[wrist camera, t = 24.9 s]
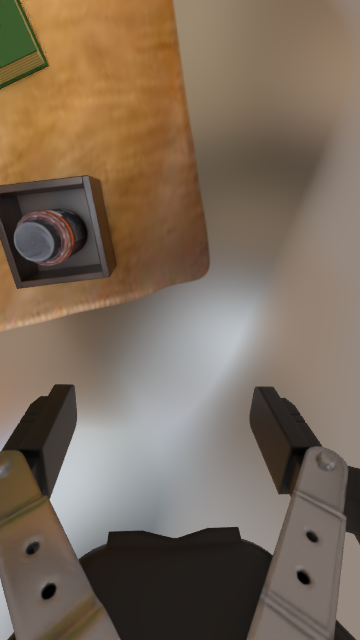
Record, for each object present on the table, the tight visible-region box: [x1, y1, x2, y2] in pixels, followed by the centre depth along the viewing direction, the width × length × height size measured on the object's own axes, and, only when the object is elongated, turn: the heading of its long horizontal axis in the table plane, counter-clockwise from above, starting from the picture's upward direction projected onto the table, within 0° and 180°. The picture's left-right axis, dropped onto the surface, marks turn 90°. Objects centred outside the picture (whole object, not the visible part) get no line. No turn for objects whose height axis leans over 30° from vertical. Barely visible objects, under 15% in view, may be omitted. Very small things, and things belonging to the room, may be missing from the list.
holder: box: [0, 175, 116, 289], centre depth 37 cm, size 12×12×7 cm
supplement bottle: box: [14, 209, 87, 266], centre depth 35 cm, size 6×6×11 cm
